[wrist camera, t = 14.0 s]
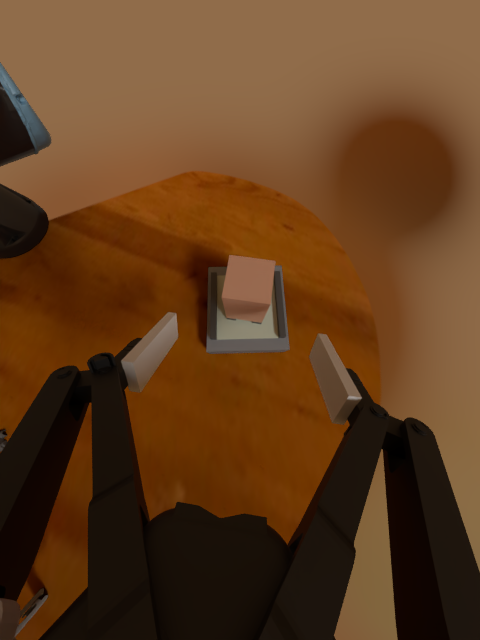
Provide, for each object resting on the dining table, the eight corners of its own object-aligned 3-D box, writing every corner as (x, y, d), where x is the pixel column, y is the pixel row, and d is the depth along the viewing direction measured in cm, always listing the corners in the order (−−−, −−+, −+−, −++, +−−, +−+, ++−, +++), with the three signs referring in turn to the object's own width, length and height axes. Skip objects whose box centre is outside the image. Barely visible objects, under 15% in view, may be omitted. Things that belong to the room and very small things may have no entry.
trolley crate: (260, 324, 32) (270, 304, 22) (226, 319, 32) (221, 297, 22) (264, 292, 33) (275, 260, 24) (232, 288, 33) (229, 254, 24)
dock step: (211, 277, 39) (207, 262, 33) (277, 275, 39) (283, 261, 34) (210, 353, 34) (204, 350, 29) (283, 351, 35) (292, 348, 29)
